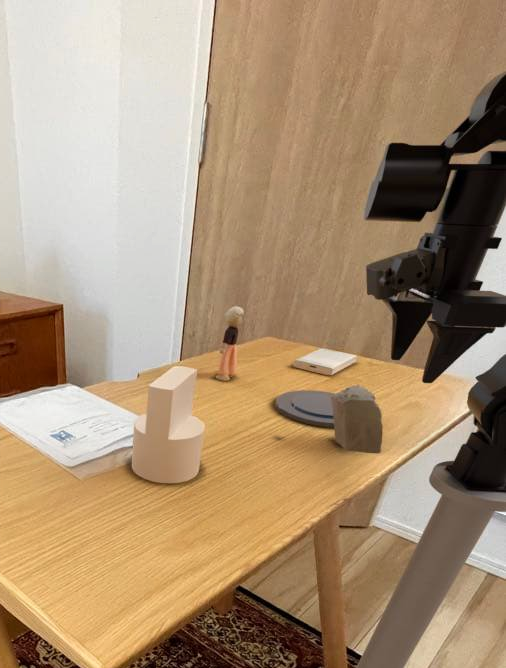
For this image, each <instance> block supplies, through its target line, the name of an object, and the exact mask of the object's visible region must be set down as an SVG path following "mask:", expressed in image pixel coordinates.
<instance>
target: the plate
mask: <svg viewBox="0 0 506 668" xmlns="http://www.w3.org/2000/svg"><path fill="white" fill-rule="evenodd" d="M333 394H336V393H334V392H329V391H324V390H312V389H311V390H309V389H308V390H307V389H302V390H301V389H300V390H291V391H286V392H283V393H282V394H279V395H278V396H277V397H276V399H275V403H274V407H275V409H276V410H277V412H278V413H279V414H281V415H283V416H284V417H286V418H288V419H290V420H293V421H296V422H298V423H301V424H305V425H309V426H314V427H319V428H327V429H334V417H333V407H332V400H331V395H333Z"/></svg>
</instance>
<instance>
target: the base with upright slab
mask: <svg viewBox="0 0 506 668" xmlns="http://www.w3.org/2000/svg"><path fill="white" fill-rule="evenodd" d="M197 375H198V369H197V368H193V367H187V366H181V365H174V366H173V367H171V368H170V369H168V370H167V371H166V372H165V373H163V374H161V375H160V376H159V377H158V378H156V379H155V380H154V381H153V382H151V383H150V384H149V385H148V386H147V388H148V389H147V402H146V413H143V414H140V415H138V416H137V417H136V418H134V421H133V435H132V454H131V469H132V472H133V473H134V474H136V475H137V476H139V477H140V478H141V479H144V480H147V481H149V482H152V483H153V482H154V483H158V484H181V483H185V482H187V481H190V480H192V479H194V478H195V477H196V476H197V475H198V473H199V471H200V465H201V459H202V451H203V445H204V439H205V430H206V426H205V423H204V422H203V421H202V419H200V418H198V417H197V416H194V415H193V414H192V413H193V406H194V399H195V393H196V391H195V390H196V383H197Z"/></svg>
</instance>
